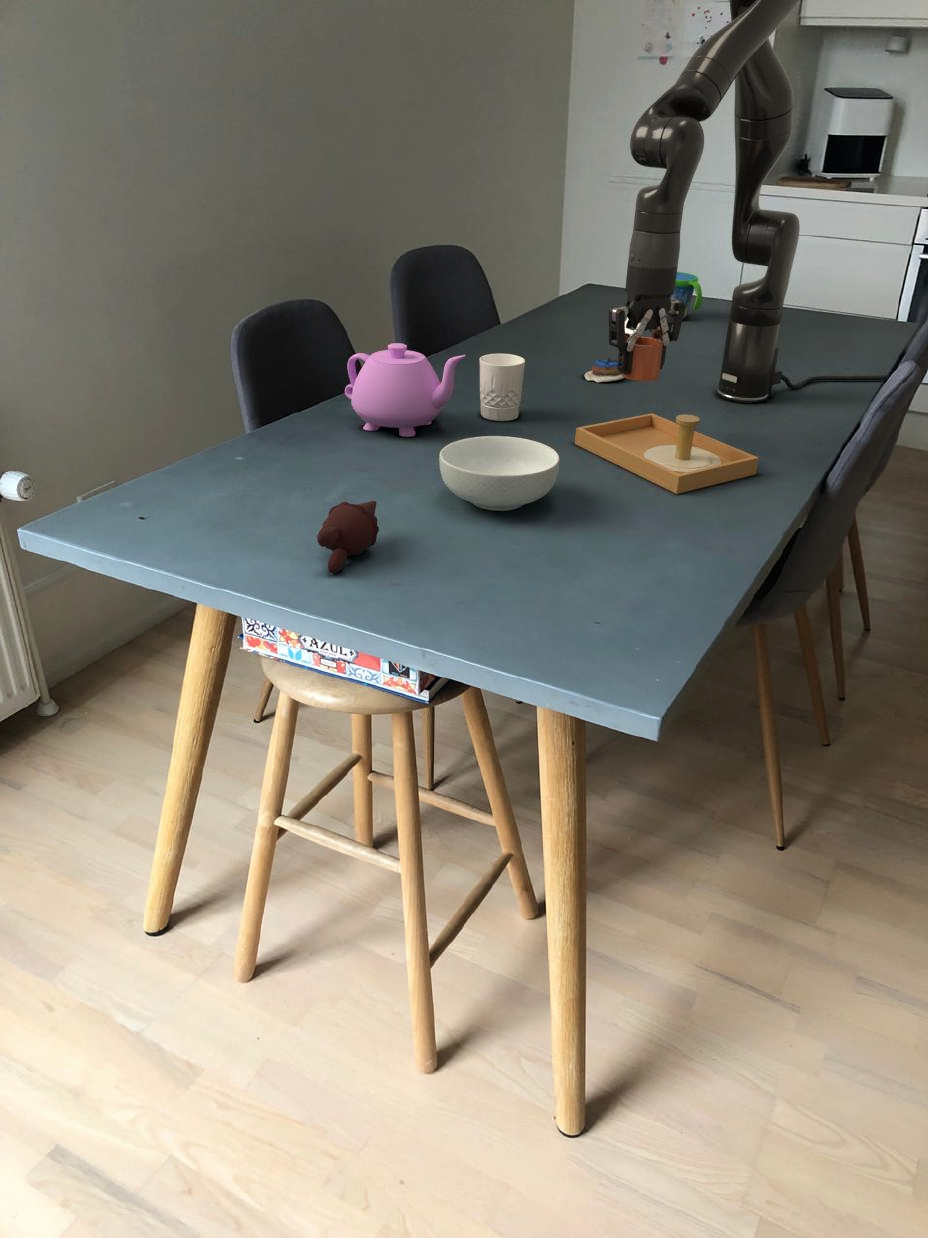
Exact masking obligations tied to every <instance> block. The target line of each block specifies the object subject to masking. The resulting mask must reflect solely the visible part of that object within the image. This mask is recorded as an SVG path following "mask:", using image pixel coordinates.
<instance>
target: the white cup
mask: <svg viewBox="0 0 928 1238" xmlns="http://www.w3.org/2000/svg"><path fill="white" fill-rule="evenodd" d="M525 365H526V359H525V358H524V357H522V356H519V355H517V354H511V353H488V354H485V355H482V356H480V357H479V397H480V398H479V399H480V415H481V416H482V418H483V419H486V420H489V421H495V422H508V421H514V420H516V419H518V417H519V416H520V407H521V402H522V394H523V385H524V375H525Z"/></svg>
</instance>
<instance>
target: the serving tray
mask: <svg viewBox="0 0 928 1238" xmlns="http://www.w3.org/2000/svg"><path fill="white" fill-rule="evenodd" d="M678 430H679V424H678V423H677V422H674V421H672V420H670V419H667V418H665V417H662V416H660V415H658V414H656V413H653V412H651V413H646V414H642V415H637V416H631V417H625V418H620V419H615V420H609V421H605V422H600V423H594V424H589V425H585V426H584V425H583V426H579V427H576V428H575V437H574V445H576V446H578V447H580V448H582V449H584V450H585V451H588V452H590V453H592V454H593V455H596V456H598V457H600V458H602V459H605V460H606V461H609V462H610V463H613V464H615V465H616V466H619V467H621V468H623V469H625V470H627V471H628V472H631V473H632V474H635V475H637V476H639V477H641V478H643V479H645V480H647V481H649V482H651V483H653V484H655V485H656V486H657V485H658V486H659V487H662V488H664V489H665V490H667V491H670V492H671V493H674V494H676V495H678V494H682V493H686V492H691V491H695V490H698V489H702V488H706V487H711V486H715V485H718V484H723V483H726V482H730V481H735V480H739V479H743V478H747V477H750V476H755V475H757V470H758V464H759V457H758V456H756V455H753V454H751V453H749V452H746V451H744V450H742V449H739V448H737V447H734V446H733V445H731V444H730V445H729V444H728V443H725V442H723V441H720V440H718V439H715V438H713V437H710V436H708V435H705V434H703V433H700V432H698V431H696V430H694V436H693V443H692V447H696V448H700V449H703V450H707V451H709V452H711V453H713V454H715V455H717V456H718V457H719V458H720V459H721V464H720V465H715V466H711V467H707V468H702V469H698V470H694V471H690V472H685V473H681V474H678V473H676V472H674V471H672V470H670V469H668V468H666V467H664V466H661V465H659V464H657V463H655V462H653V461H651V460H649V459H646V458H644V453H645V452H646V451H647V450H648V449H651V448H653V447H657V446H664V445H676V444H677V437H678Z"/></svg>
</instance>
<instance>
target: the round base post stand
mask: <svg viewBox="0 0 928 1238" xmlns="http://www.w3.org/2000/svg"><path fill="white" fill-rule="evenodd" d="M700 421H701V419H700V417H698V416H696V415H694V414H688V413H687V414H686V413H685V414H678V415H676V417H675V423H677V424H679V430H678V437H677V444H676V445H664V446H657V447H653V448H651V449H648V450H647V451H646V452H645V453H644V458H646V459H649V460H651V461H653V462H655V463H657V464H659V465H661V466H664V467H666V468H668V469H670V470H672V471H674V472H676V473H678V474H681V473H685V472H690V471H694V470H698V469H702V468H707V467H711V466H715V465H720V464H721V459H720V458H719V457H718V456H717V455H715V454H713V453H711V452H709V451H707V450H703V449H700V448H696V447H692V443H693V436H694V431H695V428H696V426H699V425H700Z"/></svg>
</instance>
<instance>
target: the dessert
mask: <svg viewBox="0 0 928 1238" xmlns="http://www.w3.org/2000/svg"><path fill="white" fill-rule="evenodd" d="M617 364H618V359H611V357H610V356H609V357H608V358H607V359H602V358H599V359H598V358H597V359H596V360H595V362H593V364H592V366H591V367H592V368H591V370H589V371H586V373H585V374H584V378H585V380H586V381H594V382H596V383H604V382H613V381H619V380H622V379H625V377H623V376H622V375H621V373H620V372H619V370H618V368H617Z"/></svg>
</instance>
